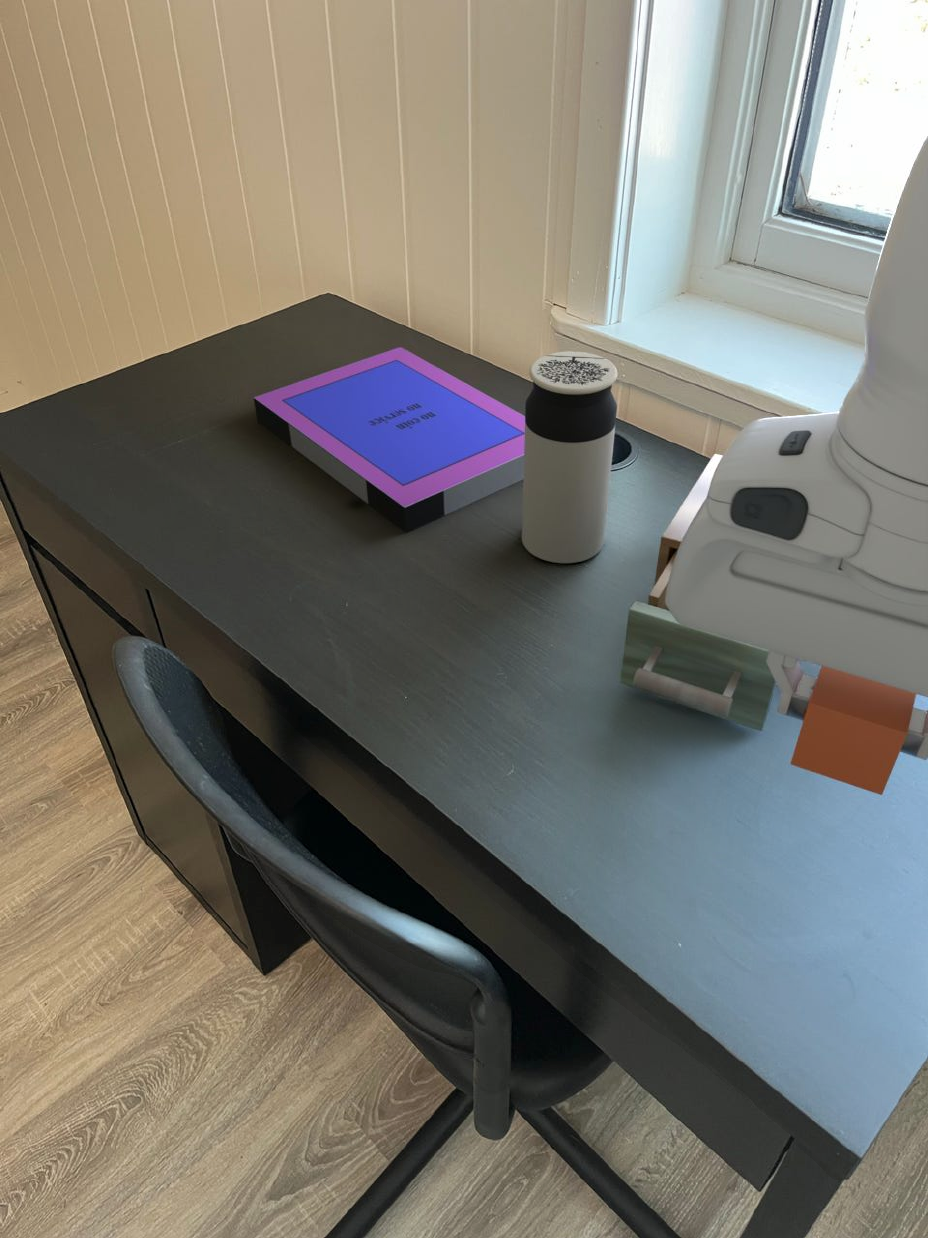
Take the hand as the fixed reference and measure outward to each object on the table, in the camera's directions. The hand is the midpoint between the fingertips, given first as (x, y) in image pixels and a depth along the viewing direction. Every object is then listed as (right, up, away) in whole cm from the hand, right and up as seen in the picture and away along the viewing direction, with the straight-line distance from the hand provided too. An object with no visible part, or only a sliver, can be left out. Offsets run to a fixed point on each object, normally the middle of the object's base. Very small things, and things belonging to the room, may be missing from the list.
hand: (850, 727), depth 48 cm
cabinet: (+5, +7, +37) cm, 38 cm away
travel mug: (-10, +13, +44) cm, 47 cm away
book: (-27, +26, +60) cm, 70 cm away
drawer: (0, +1, +28) cm, 28 cm away
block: (0, -1, +1) cm, 2 cm away
